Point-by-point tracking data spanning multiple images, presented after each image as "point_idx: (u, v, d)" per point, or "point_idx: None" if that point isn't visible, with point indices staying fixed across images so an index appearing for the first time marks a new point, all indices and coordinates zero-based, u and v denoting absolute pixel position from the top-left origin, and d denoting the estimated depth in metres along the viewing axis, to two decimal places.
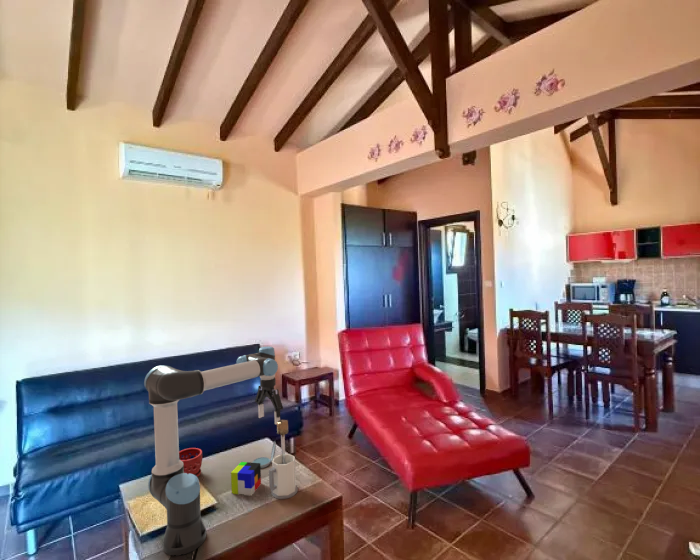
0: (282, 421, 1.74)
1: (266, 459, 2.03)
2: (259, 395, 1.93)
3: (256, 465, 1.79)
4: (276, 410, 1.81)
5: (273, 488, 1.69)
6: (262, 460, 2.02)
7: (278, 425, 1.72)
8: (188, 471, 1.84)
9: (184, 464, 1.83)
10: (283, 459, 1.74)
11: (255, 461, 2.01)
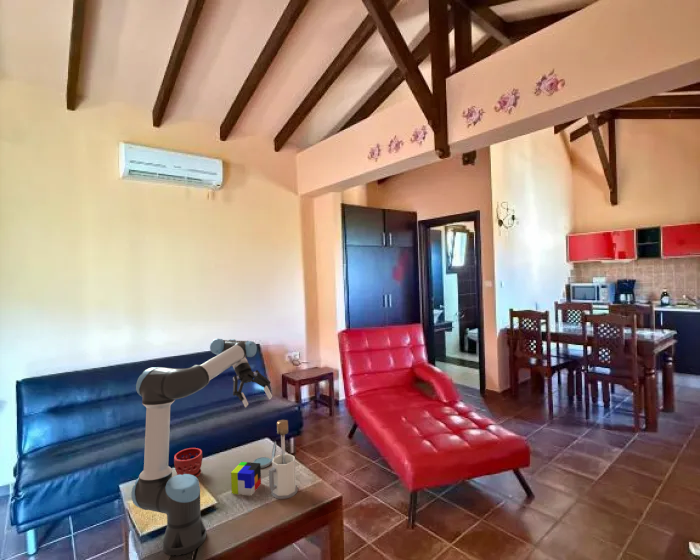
0: (282, 421, 1.74)
1: (267, 459, 2.03)
2: None
3: (256, 465, 1.79)
4: (268, 383, 1.90)
5: (273, 488, 1.69)
6: (263, 460, 2.02)
7: (278, 425, 1.72)
8: (188, 471, 1.84)
9: (184, 464, 1.83)
10: (283, 459, 1.74)
11: (256, 461, 2.01)
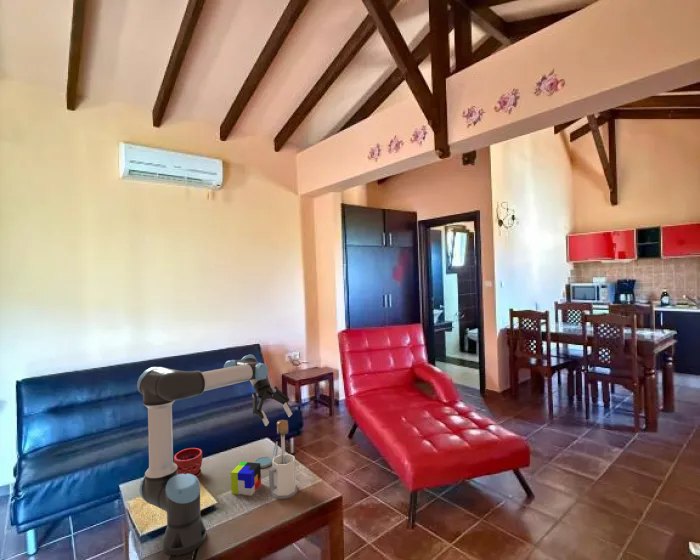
0: (282, 421, 1.74)
1: (268, 459, 2.03)
2: None
3: (256, 465, 1.79)
4: (287, 400, 1.86)
5: (273, 488, 1.69)
6: (264, 460, 2.02)
7: (278, 425, 1.72)
8: (188, 471, 1.84)
9: (184, 464, 1.83)
10: (283, 459, 1.74)
11: (257, 461, 2.01)
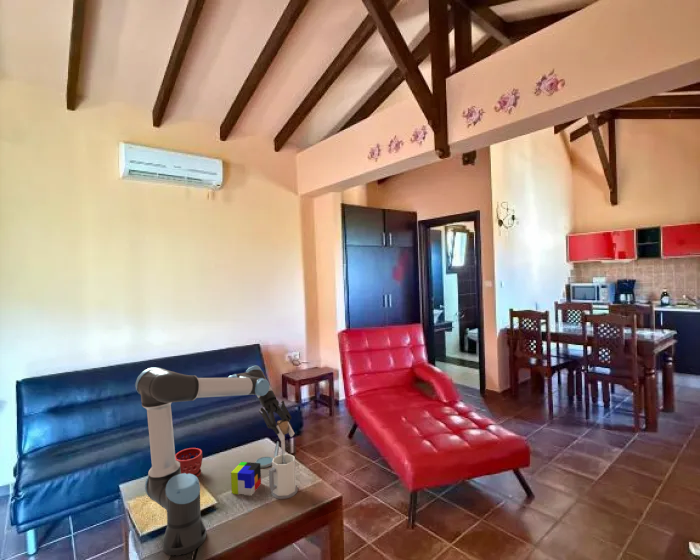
0: (282, 421, 1.74)
1: (269, 459, 2.03)
2: None
3: (256, 465, 1.79)
4: (289, 419, 1.77)
5: (273, 488, 1.69)
6: (265, 460, 2.02)
7: (278, 425, 1.72)
8: (188, 471, 1.84)
9: (184, 464, 1.83)
10: (283, 459, 1.74)
11: (258, 461, 2.01)
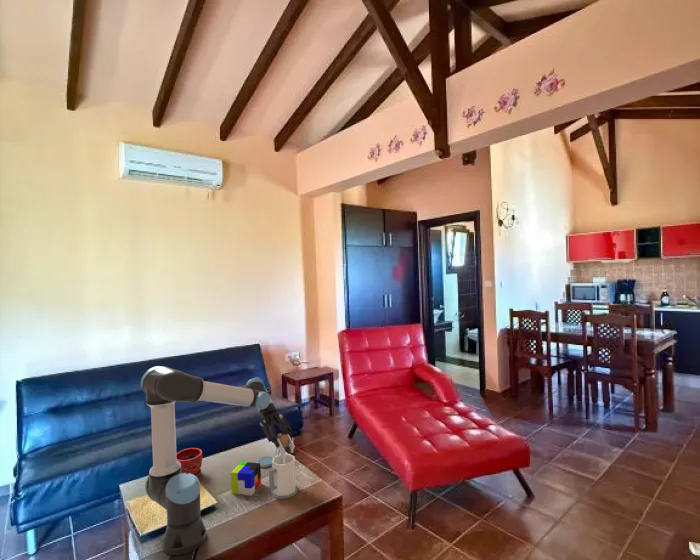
0: (282, 434, 1.75)
1: (271, 458, 2.03)
2: None
3: (256, 465, 1.79)
4: (290, 432, 1.77)
5: (273, 488, 1.69)
6: (267, 459, 2.02)
7: None
8: (188, 471, 1.84)
9: (184, 464, 1.83)
10: None
11: (260, 460, 2.01)
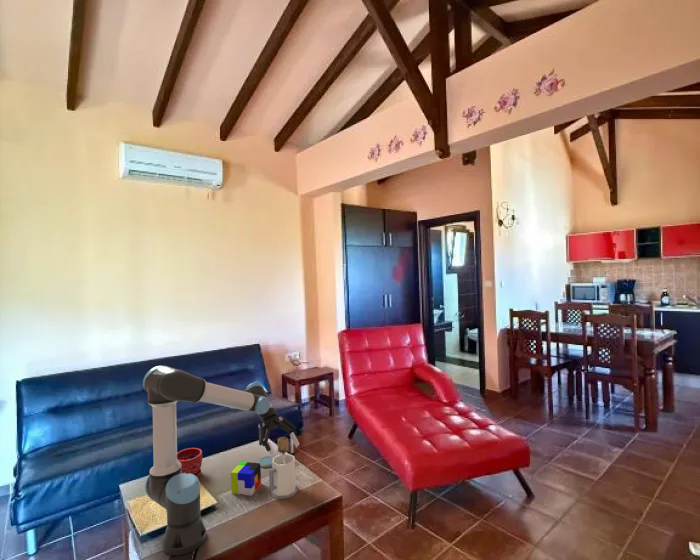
0: (283, 438, 1.75)
1: (272, 458, 2.04)
2: None
3: (256, 465, 1.79)
4: (294, 429, 1.81)
5: (273, 488, 1.69)
6: (268, 459, 2.03)
7: (279, 443, 1.72)
8: (188, 471, 1.84)
9: (184, 464, 1.83)
10: None
11: (261, 460, 2.02)
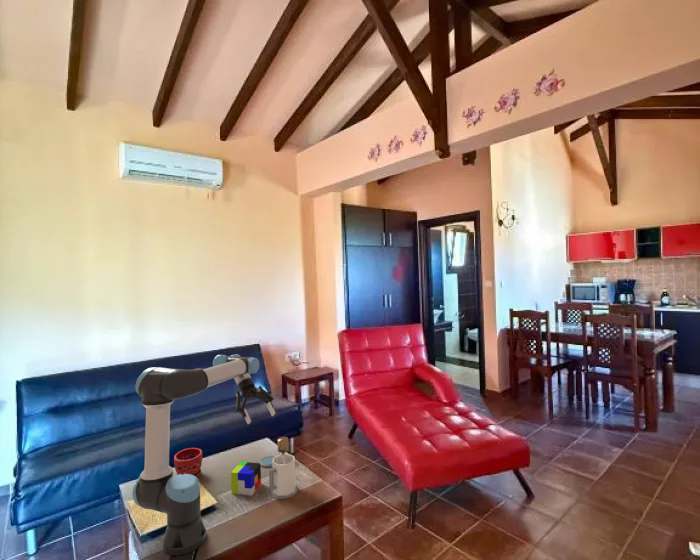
0: (283, 438, 1.75)
1: None
2: None
3: (256, 465, 1.79)
4: (271, 399, 1.89)
5: (273, 488, 1.69)
6: (270, 459, 2.03)
7: (279, 443, 1.72)
8: (188, 471, 1.84)
9: (184, 464, 1.83)
10: None
11: (263, 460, 2.02)
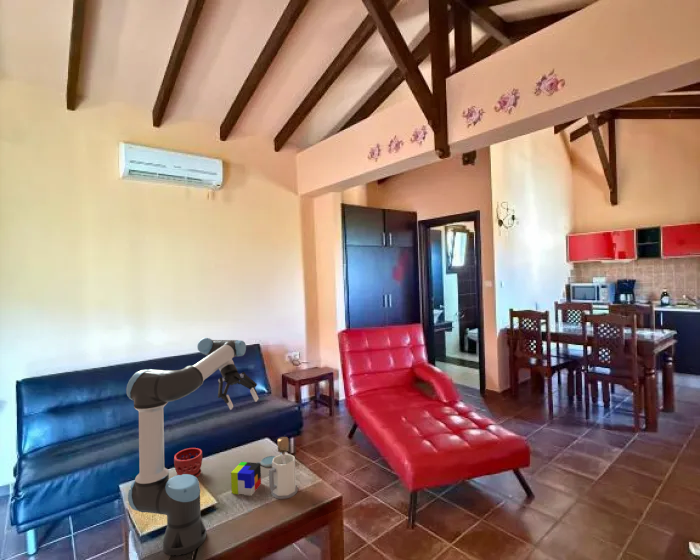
0: (283, 438, 1.75)
1: None
2: None
3: (256, 465, 1.79)
4: (254, 385, 1.87)
5: (273, 488, 1.69)
6: (271, 459, 2.03)
7: (279, 443, 1.72)
8: (188, 471, 1.84)
9: (184, 464, 1.83)
10: None
11: (264, 460, 2.02)
